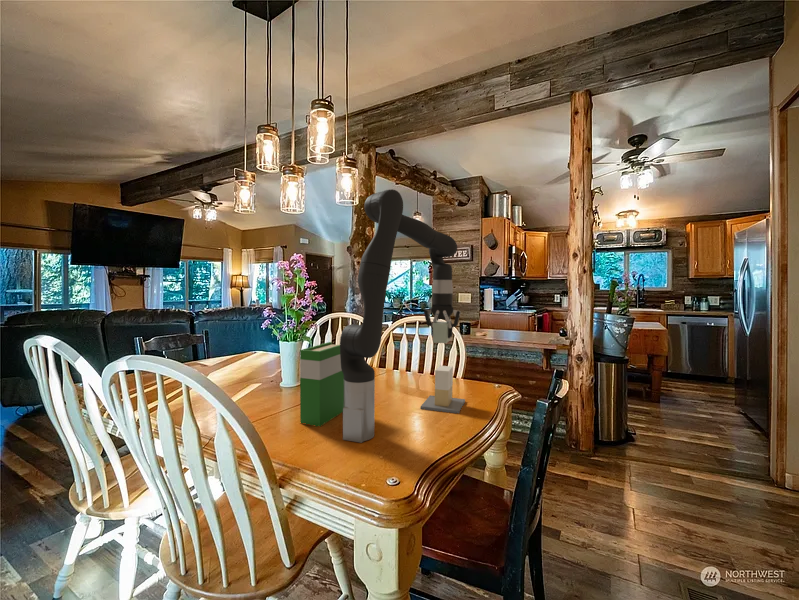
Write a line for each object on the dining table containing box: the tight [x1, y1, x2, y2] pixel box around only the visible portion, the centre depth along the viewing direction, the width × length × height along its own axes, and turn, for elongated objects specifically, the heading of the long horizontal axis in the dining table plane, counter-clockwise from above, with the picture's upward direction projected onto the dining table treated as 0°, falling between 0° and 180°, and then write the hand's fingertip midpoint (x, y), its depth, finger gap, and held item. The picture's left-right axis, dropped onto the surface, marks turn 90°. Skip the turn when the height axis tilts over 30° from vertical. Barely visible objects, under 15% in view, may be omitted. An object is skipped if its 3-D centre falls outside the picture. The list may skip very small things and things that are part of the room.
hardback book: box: [299, 341, 344, 427], centre depth 126 cm, size 18×7×24 cm, turn 159°
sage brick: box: [432, 320, 451, 344], centre depth 138 cm, size 8×5×7 cm, turn 162°
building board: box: [420, 385, 466, 415], centre depth 138 cm, size 14×14×7 cm
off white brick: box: [434, 365, 454, 390], centre depth 138 cm, size 8×5×7 cm, turn 161°
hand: (441, 337), depth 138 cm, fingers closed on sage brick, 5 cm apart
